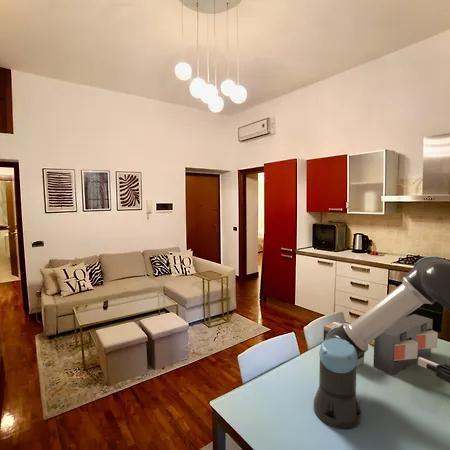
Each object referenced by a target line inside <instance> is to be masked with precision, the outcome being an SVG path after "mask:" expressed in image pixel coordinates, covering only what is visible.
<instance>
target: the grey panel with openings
mask: <svg viewBox="0 0 450 450" xmlns="http://www.w3.org/2000/svg"><path fill="white" fill-rule="evenodd" d="M433 320H434V319H433V318H429V317H426V316H423V315H419V314H415V313H413V314H411V315H410V314H409V315H407V316H406V317H405V318H403V319H402V320H400V321H399V322H398V323H396V324H395V325H394V326H392V327H391V328H389V329H388V330H387V331H385V332H384V333H383V334H381V335H380V336H378V337H377V338H376V339H374V346H373V363H372V365H373V366H372V367H373V368H375V369H376V370H378V371H381V372H383V374H387V375H388V376H391V377H393V376H396V375H397V374H398V373H400V372H402V371H404V370H405V369H407V368H410V367H411V366H412V365H414V364H416V363H418V358H419V357H421V358H424V359H426V358H427V357H428V356H430V355H431V354H432V348H427V349H418V354H417V358H416V359H407V360H397V361H394V345H396V344H398V343H400V342H402V341H405V340H414V341H416V335H417V334H420V333H422V332H424V331H431V330H433Z"/></svg>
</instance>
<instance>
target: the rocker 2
mask: <svg viewBox="0 0 450 450" xmlns="http://www.w3.org/2000/svg"><path fill="white" fill-rule="evenodd" d="M438 335H439V333H438V332H437V331H435V330H433V329H432V330H431V331H424V332H422V333H420V334H417V335H416V342H418V349H427V348H431V349H434V348H438V337H439V336H438Z"/></svg>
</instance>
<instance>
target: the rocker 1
mask: <svg viewBox="0 0 450 450" xmlns="http://www.w3.org/2000/svg"><path fill="white" fill-rule="evenodd" d="M417 354H418V342H416V341H414V340H405V341H402V342H400V343H398V344H396V345H394V361H397V360H407V359H416V358H417Z"/></svg>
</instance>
